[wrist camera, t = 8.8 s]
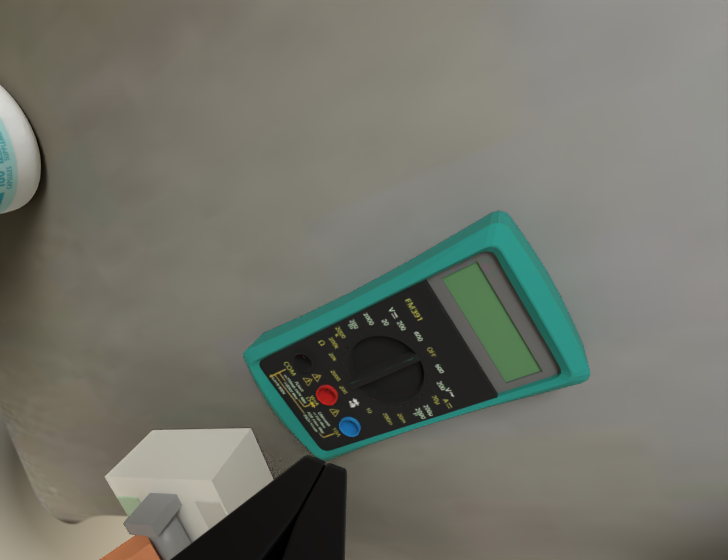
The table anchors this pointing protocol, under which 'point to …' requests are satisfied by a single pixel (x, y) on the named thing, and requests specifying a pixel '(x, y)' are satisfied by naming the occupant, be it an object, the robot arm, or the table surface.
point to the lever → (153, 545)
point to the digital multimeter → (422, 344)
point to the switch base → (188, 478)
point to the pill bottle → (16, 156)
